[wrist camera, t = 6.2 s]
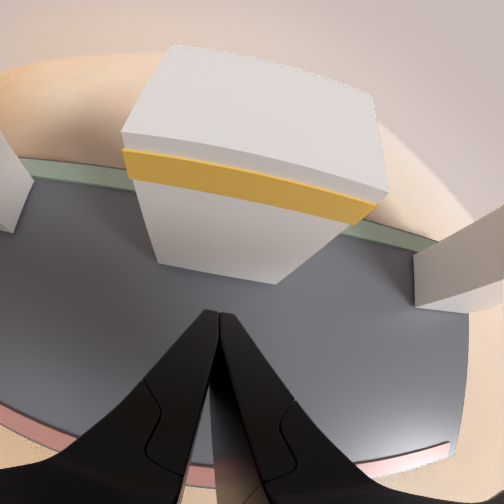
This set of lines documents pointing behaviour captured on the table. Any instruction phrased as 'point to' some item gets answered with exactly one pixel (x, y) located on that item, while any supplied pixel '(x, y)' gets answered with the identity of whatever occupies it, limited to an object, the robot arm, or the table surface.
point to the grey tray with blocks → (247, 311)
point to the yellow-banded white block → (249, 162)
